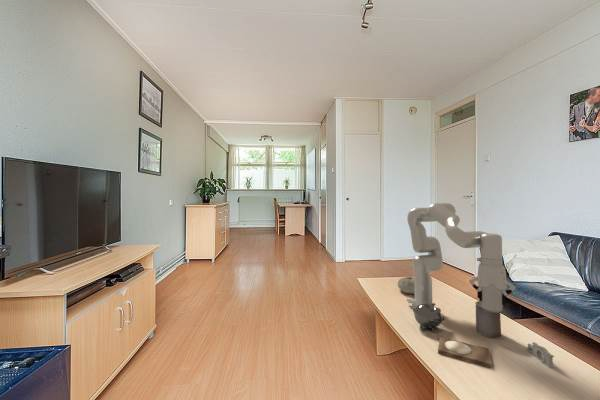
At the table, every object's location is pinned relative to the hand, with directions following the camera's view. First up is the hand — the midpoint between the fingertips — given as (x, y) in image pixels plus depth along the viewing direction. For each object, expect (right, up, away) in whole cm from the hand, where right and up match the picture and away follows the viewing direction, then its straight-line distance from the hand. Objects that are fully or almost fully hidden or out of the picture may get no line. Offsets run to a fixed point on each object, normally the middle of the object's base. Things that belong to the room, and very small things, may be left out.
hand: (491, 301), depth 111 cm
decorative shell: (-6, -20, +67) cm, 70 cm away
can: (0, -4, 0) cm, 4 cm away
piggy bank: (-19, -20, +17) cm, 33 cm away
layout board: (-15, -20, -4) cm, 25 cm away
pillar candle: (+7, -20, +11) cm, 24 cm away
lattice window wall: (+13, -20, -9) cm, 25 cm away
